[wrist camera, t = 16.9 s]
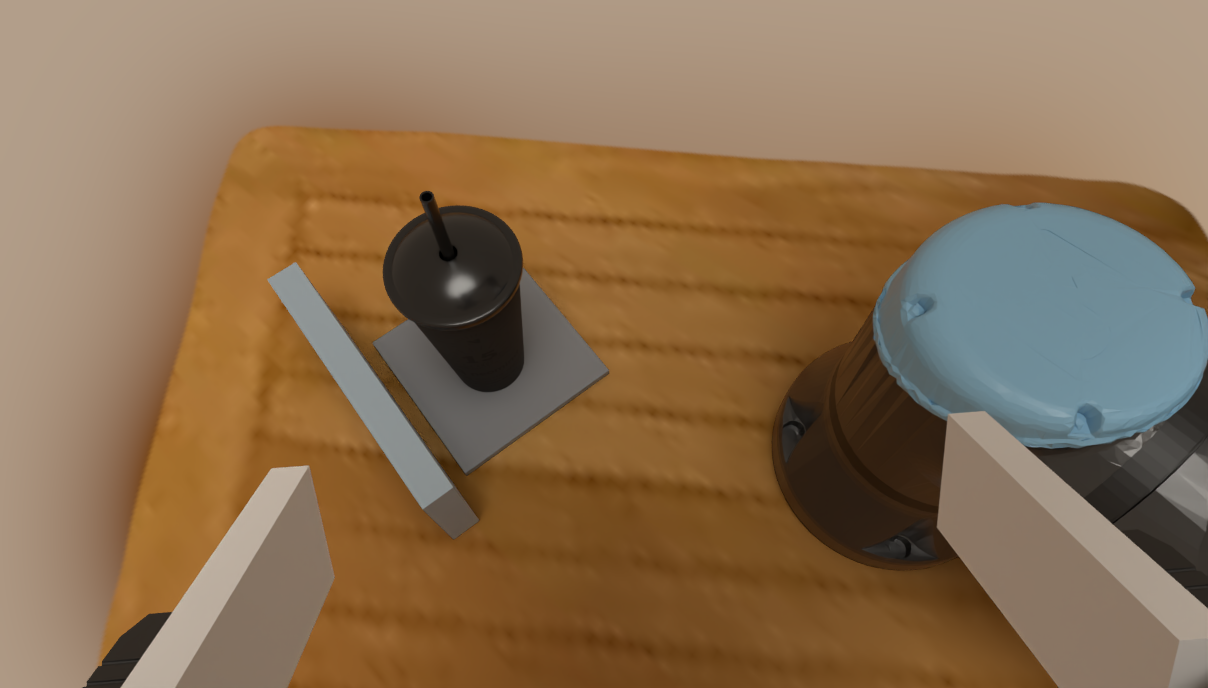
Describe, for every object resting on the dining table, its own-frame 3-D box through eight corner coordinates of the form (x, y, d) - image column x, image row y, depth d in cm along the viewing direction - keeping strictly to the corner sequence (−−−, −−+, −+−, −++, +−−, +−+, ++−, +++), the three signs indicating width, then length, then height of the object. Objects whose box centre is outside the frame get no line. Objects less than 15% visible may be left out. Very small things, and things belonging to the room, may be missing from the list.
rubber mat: (511, 256, 60) (510, 252, 59) (609, 373, 56) (609, 370, 55) (374, 346, 57) (372, 342, 57) (466, 475, 53) (465, 473, 53)
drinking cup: (418, 340, 57) (322, 169, 38) (515, 295, 58) (467, 109, 40) (461, 431, 54) (380, 294, 36) (562, 381, 55) (534, 224, 37)
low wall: (341, 324, 58) (295, 262, 50) (479, 520, 52) (453, 487, 44) (317, 339, 57) (267, 279, 49) (453, 539, 51) (422, 509, 43)
